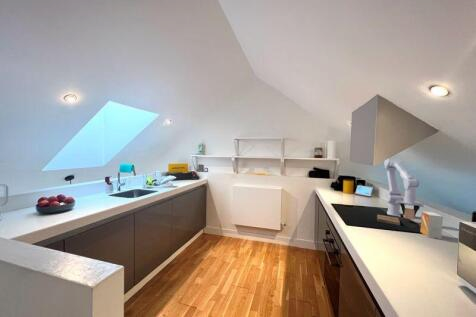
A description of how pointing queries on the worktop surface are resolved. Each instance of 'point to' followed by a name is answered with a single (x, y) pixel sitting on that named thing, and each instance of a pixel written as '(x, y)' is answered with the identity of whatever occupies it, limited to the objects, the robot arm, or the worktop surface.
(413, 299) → the worktop surface
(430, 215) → the small box
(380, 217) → the tan board
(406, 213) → the terracotta block
